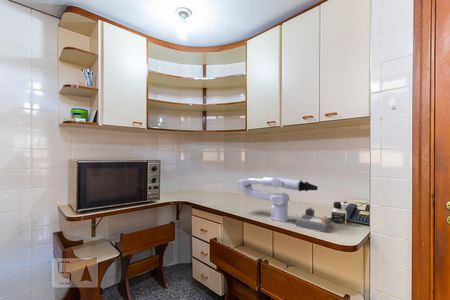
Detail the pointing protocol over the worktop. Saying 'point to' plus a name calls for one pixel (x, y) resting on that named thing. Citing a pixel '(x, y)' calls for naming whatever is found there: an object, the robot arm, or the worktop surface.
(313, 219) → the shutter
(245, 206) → the worktop surface
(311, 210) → the plug
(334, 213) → the medicine bottle
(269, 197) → the robot arm
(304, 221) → the socket
